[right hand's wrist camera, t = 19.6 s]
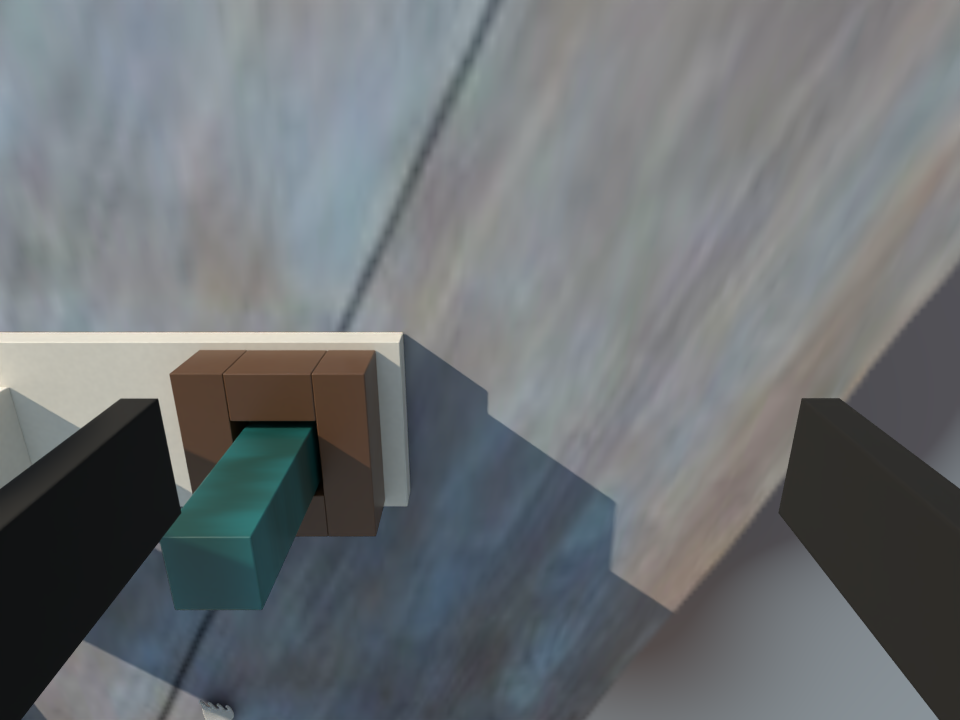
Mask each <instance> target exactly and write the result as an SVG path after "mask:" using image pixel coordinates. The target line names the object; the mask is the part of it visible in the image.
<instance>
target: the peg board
mask: <svg viewBox="0 0 960 720" xmlns="http://www.w3.org/2000/svg"><path fill="white" fill-rule="evenodd" d="M121 398H158V400H159V405H160V410H161V415H162V420H163V425H164V430H165V434H166V439H167V444H168V449H169V454H170V459H171V464H172V469H173V474H174V479H175V484H176V489H177V493H178V498H179V503H180V506H184V505H185V504H186V502H187V501H188V500H189V498H190V497H191V496H192V495H193V493H194V492H195V491H196V490H197V488H198V487H199V486H200V484H201V483H202V482H203V481H204V479H205V478H206V477H207V475H208V474H209V473H210V472H211V470H212V469H213V468H214V467H215V465H216V464H217V463H218V461H219V460H220V459H221V458H222V456H223V455H224V454H225V452H226V451H227V450H228V449H229V447H230V446H231V445H232V444H233V442H234V441H235V440H236V438H237V437H238V436H239V435H240V433H241V432H242V431H243V430H244V428H245V427H246V426H247V424H248V423H249V422H250V421H317V431H318V440H319V450H320V459H321V469H322V478H321V481H320V483H319V485H318V487H317V490H316V492H315V494H314V496H313V498H312V501H311V503H310V505H309V507H308V510H307V512H306V514H305V516H304V518H303V521H302V523H301V525H300V527H299V530H298V532H297V534H296V536H328V535H329V536H376V534H377V530H378V526H379V522H380V519H381V515H382V511H383V507H384V506H408V501H409V495H410V470H409V448H408V427H407V405H406V384H405V362H404V341H403V332H0V489H1V488H2V487H3V486H5V485H6V484H7V483H9V482H10V481H11V480H13V479H14V478H15V477H17V476H18V475H19V474H21V473H22V472H23V471H25V470H26V469H27V468H29V467H30V466H31V465H33V464H34V463H35V462H37V461H38V460H39V459H41V458H42V457H43V456H45V455H46V454H47V453H49V452H50V451H51V450H53V449H54V448H55V447H57V446H58V445H59V444H61V443H62V442H63V441H65V440H66V439H67V438H69V437H70V436H71V435H73V434H74V433H75V432H77V431H78V430H79V429H81V428H82V427H83V426H85V425H86V424H87V423H89V422H90V421H91V420H93V419H94V418H95V417H97V416H98V415H99V414H101V413H102V412H103V411H105V410H106V409H107V408H109V407H110V406H111V405H113V404H114V403H115V402H117V401H118V400H119V399H121Z"/></svg>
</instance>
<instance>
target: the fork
mask: <svg viewBox="0 0 960 720" xmlns="http://www.w3.org/2000/svg"><path fill="white" fill-rule="evenodd" d="M199 703H200V704H201V705H202V709H203V714H204V717H205V720H232V719H233V718H234V712H233V710H232V708H231V707H230V706H228V705H226V708H227V709H228V710H226V709H224V708H223V707H222V706H221V705H220V704H219V703H218V704H217V706H218V707H219V708H216V707H215V706H214V705H213V704H212V703H211V702H208V705H210V707H208V706H207V705H206V704H205V703H204V702H202V701H201V700H200V701H199Z"/></svg>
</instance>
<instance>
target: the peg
mask: <svg viewBox="0 0 960 720" xmlns="http://www.w3.org/2000/svg"><path fill="white" fill-rule="evenodd" d="M321 478H322V469H321V459H320V450H319V440H318V431H317V421H250V422H249V423H248V424H247V426H246V427H245V428H244V430H243V431H242V432H241V433H240V435H239V436H238V437H237V438H236V440H235V441H234V442H233V444H232V445H231V446H230V447H229V449H228V450H227V451H226V452H225V454H224V455H223V456H222V458H221V459H220V460H219V461H218V463H217V464H216V465H215V467H214V468H213V469H212V470H211V472H210V473H209V474H208V475H207V477H206V478H205V479H204V481H203V482H202V483H201V484H200V486H199V487H198V488H197V490H196V491H195V492H194V493H193V495H192V496H191V497H190V498H189V500H188V501H187V502H186V504H185V505H184V506H183V507H182V509H181V514H180V516H179V517H178V518H177V519H176V521H175V522H174V523H173V525H172V526H171V527H170V528H169V530H168V531H167V532H166V534H165V535H164V536H163V537H162V539H161V540H160V545H161V549H162V554H163V558H164V563H165V567H166V572H167V576H168V580H169V585H170V589H171V594H172V598H173V603H174V607H175V610H262V609H263V607H264V605H265V603H266V600H267V598H268V596H269V594H270V592H271V589H272V587H273V585H274V583H275V581H276V578H277V576H278V574H279V572H280V569H281V567H282V565H283V563H284V561H285V558H286V556H287V554H288V552H289V549H290V547H291V545H292V543H293V541H294V538H295V536H296V534H297V532H298V530H299V527H300V525H301V523H302V521H303V518H304V516H305V514H306V512H307V510H308V507H309V505H310V503H311V501H312V498H313V496H314V494H315V492H316V490H317V487H318V485H319V483H320V481H321Z"/></svg>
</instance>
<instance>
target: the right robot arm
mask: <svg viewBox="0 0 960 720" xmlns="http://www.w3.org/2000/svg"><path fill="white" fill-rule="evenodd" d="M180 514H181V508H180V503H179V498H178V493H177V489H176V484H175V479H174V474H173V469H172V464H171V459H170V454H169V449H168V444H167V439H166V434H165V430H164V425H163V420H162V415H161V410H160V405H159V400H158V398H121V399H119V400H118V401H117V402H115V403H114V404H113V405H111V406H110V407H109V408H107V409H106V410H105V411H103V412H102V413H101V414H99V415H98V416H97V417H95V418H94V419H93V420H91V421H90V422H89V423H87V424H86V425H85V426H83V427H82V428H81V429H79V430H78V431H77V432H75V433H74V434H73V435H71V436H70V437H69V438H67V439H66V440H65V441H63V442H62V443H61V444H59V445H58V446H57V447H55V448H54V449H53V450H51V451H50V452H49V453H47V454H46V455H45V456H43V457H42V458H41V459H39V460H38V461H37V462H35V463H34V464H33V465H31V466H30V467H29V468H27V469H26V470H25V471H23V472H22V473H21V474H19V475H18V476H17V477H15V478H14V479H13V480H11V481H10V482H9V483H7V484H6V485H5V486H3V487H2V488H1V489H0V720H21V719H22V718H23V716H24V715H25V714H26V712H27V711H28V710H29V709H30V707H31V706H32V705H33V703H34V702H35V701H36V700H37V698H38V697H39V696H40V694H41V693H42V692H43V691H44V689H45V688H46V687H47V685H48V684H49V683H50V682H51V680H52V679H53V678H54V676H55V675H56V674H57V673H58V671H59V670H60V669H61V667H62V666H63V665H64V664H65V662H66V661H67V660H68V658H69V657H70V656H71V655H72V653H73V652H74V651H75V649H76V648H77V647H78V646H79V644H80V643H81V642H82V640H83V639H84V638H85V637H86V635H87V634H88V633H89V631H90V630H91V629H92V628H93V626H94V625H95V624H96V622H97V621H98V620H99V619H100V617H101V616H102V615H103V613H104V612H105V611H106V609H107V608H108V607H109V606H110V604H111V603H112V602H113V600H114V599H115V598H116V597H117V595H118V594H119V593H120V591H121V590H122V589H123V588H124V586H125V585H126V584H127V582H128V581H129V580H130V579H131V577H132V576H133V575H134V573H135V572H136V571H137V570H138V568H139V567H140V566H141V564H142V563H143V562H144V561H145V559H146V558H147V557H148V555H149V554H150V553H151V552H152V550H153V549H154V548H155V546H156V545H157V544H158V543H159V541H160V540H161V539H162V537H163V536H164V535H165V534H166V532H167V531H168V530H169V528H170V527H171V526H172V525H173V523H174V522H175V521H176V519H177V518H178V517H179V516H180ZM779 514H780V516H781V517H782V518H783V519H784V521H785V522H786V523H787V525H788V526H789V527H790V528H791V530H792V531H793V532H794V533H795V535H796V536H797V537H798V539H799V540H800V541H801V543H802V544H803V545H804V546H805V548H806V549H807V550H808V552H809V553H810V554H811V555H812V557H813V558H814V559H815V561H816V562H817V563H818V564H819V566H820V567H821V568H822V570H823V571H824V572H825V573H826V575H827V576H828V577H829V579H830V580H831V581H832V582H833V584H834V585H835V586H836V588H837V589H838V590H839V591H840V593H841V594H842V595H843V597H844V598H845V599H846V600H847V602H848V603H849V604H850V606H851V607H852V608H853V609H854V611H855V612H856V613H857V615H858V616H859V617H860V619H861V620H862V621H863V622H864V624H865V625H866V626H867V628H868V629H869V630H870V631H871V633H872V634H873V635H874V637H875V638H876V639H877V640H878V642H879V643H880V644H881V646H882V647H883V648H884V649H885V651H886V652H887V653H888V655H889V656H890V657H891V658H892V660H893V661H894V662H895V664H896V665H897V666H898V667H899V669H900V670H901V671H902V673H903V674H904V675H905V676H906V678H907V679H908V680H909V681H910V683H911V684H912V685H913V687H914V688H915V689H916V691H917V692H918V693H919V694H920V696H921V697H922V698H923V700H924V701H925V702H926V703H927V705H928V706H929V707H930V709H931V710H932V711H933V712H934V714H935V715H936V716H937V718H938V719H939V720H960V489H959V488H958V487H957V486H955V485H954V484H953V483H951V482H950V481H949V480H947V479H946V478H945V477H943V476H942V475H941V474H939V473H938V472H937V471H935V470H934V469H933V468H931V467H930V466H929V465H927V464H926V463H925V462H923V461H922V460H921V459H919V458H918V457H917V456H915V455H914V454H913V453H911V452H910V451H909V450H907V449H906V448H905V447H903V446H902V445H901V444H899V443H898V442H897V441H895V440H894V439H893V438H891V437H890V436H889V435H887V434H886V433H885V432H883V431H882V430H881V429H879V428H878V427H877V426H875V425H874V424H873V423H871V422H870V421H869V420H867V419H866V418H865V417H863V416H862V415H861V414H859V413H858V412H857V411H855V410H854V409H853V408H851V407H850V406H849V405H847V404H846V403H845V402H843V401H842V400H841V399H839V398H802V400H801V405H800V410H799V415H798V420H797V425H796V430H795V434H794V439H793V444H792V449H791V454H790V459H789V464H788V469H787V474H786V479H785V484H784V488H783V494H782V498H781V503H780V508H779Z"/></svg>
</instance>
